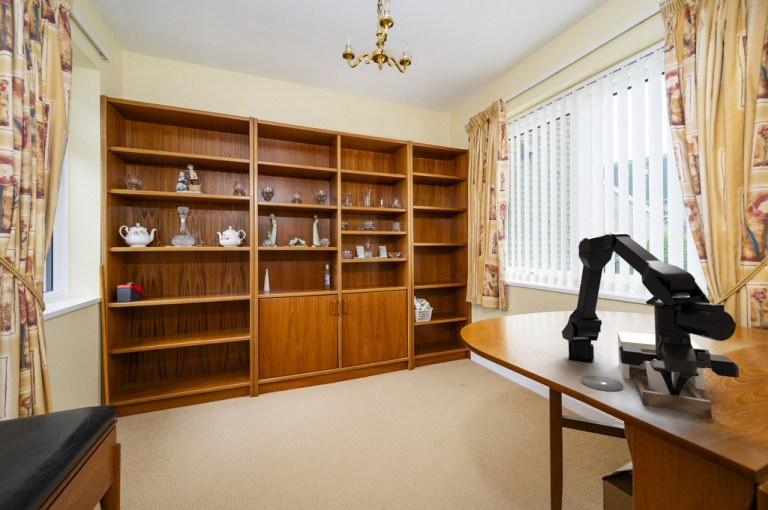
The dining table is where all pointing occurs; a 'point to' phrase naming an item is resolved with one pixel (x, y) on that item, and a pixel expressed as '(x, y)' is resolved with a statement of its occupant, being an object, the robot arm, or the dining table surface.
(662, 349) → the robot arm
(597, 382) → the coaster
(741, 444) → the dining table surface
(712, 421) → the dining table surface
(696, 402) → the tray
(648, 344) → the cubby
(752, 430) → the dining table surface
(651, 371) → the white tapered cup
